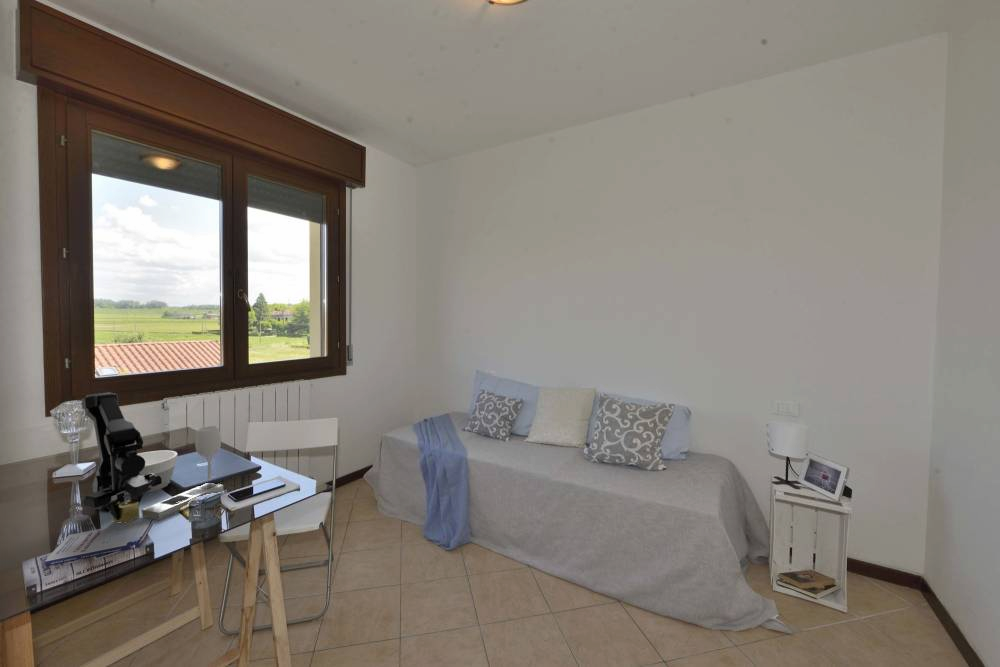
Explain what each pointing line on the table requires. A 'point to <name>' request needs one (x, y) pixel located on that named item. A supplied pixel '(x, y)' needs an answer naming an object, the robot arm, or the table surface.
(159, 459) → the bowl
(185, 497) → the rail
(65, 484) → the table surface
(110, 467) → the robot arm
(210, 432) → the wineglass
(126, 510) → the nut block
